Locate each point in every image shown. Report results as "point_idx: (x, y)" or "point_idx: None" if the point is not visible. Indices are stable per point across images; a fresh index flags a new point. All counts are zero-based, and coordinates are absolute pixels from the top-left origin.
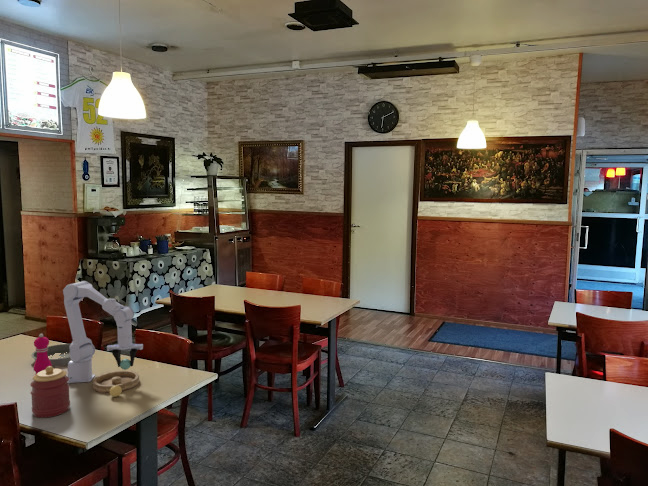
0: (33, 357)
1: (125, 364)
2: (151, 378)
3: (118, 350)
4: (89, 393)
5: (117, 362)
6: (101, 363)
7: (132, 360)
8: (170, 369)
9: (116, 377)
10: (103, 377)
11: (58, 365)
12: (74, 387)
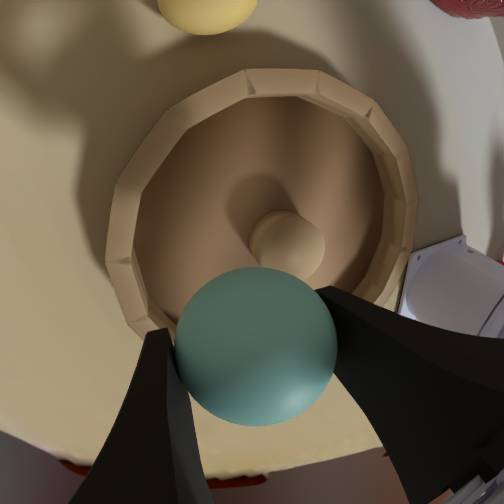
0: None
1: (236, 302)
2: (82, 348)
3: (478, 468)
4: (383, 91)
5: (376, 307)
6: None
7: (128, 398)
8: (73, 436)
9: (297, 267)
10: (370, 286)
11: None
12: (447, 187)
